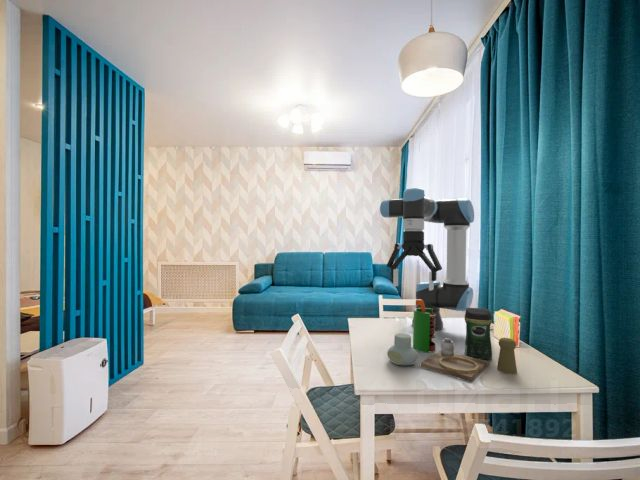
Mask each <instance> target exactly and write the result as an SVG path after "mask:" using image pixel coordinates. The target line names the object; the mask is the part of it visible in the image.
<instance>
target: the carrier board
mask: <svg viewBox="0 0 640 480" xmlns="http://www.w3.org/2000/svg"><path fill="white" fill-rule="evenodd" d="M440 342H441V343H440V350H438V351H437V352H436V353H433V354H432V355H430V356H429V357H427V358H426V359H424V360H422V361H421V362H420V368H423V369H426V370H429V371H430V370H431V371H433V372H437V373H439V374H440V373H441V374H443V375H447V376H451V377H454V378H457V379H461V380H463V381H467V382H470V383H472V382H474V380H475V379H476V378H477V377H478V376H479V375H480V374H481V373H482V372H483V371H484V370H485V369H486V368H487V367H488V366H489V360H488V361H487V360H485V359H476V358H472V357H468V356H466V355H464V354H460V353H455V352H454V350H455V348H454V347H455V346H454V345H455V344H454V343H455V342H454V341H453V340H452V339H451V338H448V337H444V339H441V341H440Z"/></svg>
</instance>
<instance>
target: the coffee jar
mask: <svg viewBox="0 0 640 480" xmlns="http://www.w3.org/2000/svg"><path fill="white" fill-rule="evenodd" d="M464 312H465V314H464V317H463V318H464V322H465V325H466V326H465V341H464V354H465V355H464V356H468V357H472V358H476V359H481V360H485V361H487V360H488V361H489V360H491V359H492V358H493V348H492V340H491V339H492V338H491V325H492V322H493V317H492V312H491V310H490V309H487V308H482V307H481V308H480V307H479V308H478V307H470V308H466V311H464Z"/></svg>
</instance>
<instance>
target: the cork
mask: <svg viewBox="0 0 640 480" xmlns="http://www.w3.org/2000/svg"><path fill="white" fill-rule="evenodd" d="M498 345H499V347H500V348H499V355H498V361H497V366H496V370H497V371H499V372H501V373H504V374H508V375H516V374H517V373H518V369H517V362H516V361H517V359H516V355H515V349H516V348H517V343H516V341H515V340H514V339H512V338H509V337H501V338H500V339H499V340H498Z"/></svg>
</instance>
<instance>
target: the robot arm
mask: <svg viewBox="0 0 640 480" xmlns="http://www.w3.org/2000/svg"><path fill="white" fill-rule="evenodd" d="M472 203H473V202H471V200H470V199H469V198H452V199H448V198H447V199H438V200H435V199H433V198H431V197H427V196H426V194H425V190H424V188H419V187H413V188H410V187H409V188H406V189H405V190H404V191H403V197H402V198H395V199H386V200H385V199H383V201H381V203H380V205H379V211H380V212H379V213H380V215H381V216H382V217H383V218H388V219H389V218H397V219H398V218H402V219H403V220H402V229H403V230H404V231H402V244H401V243H400V242H399V243H395V244H394V249H393V251H392V253H391V255H390V257H389V259H388V261H387V262H386V263H387V264H386V267H387V268H390V269H391V272H390V273H391V276H390V277H391V278H393V279H392V280H393V281H392V282H393V287H394V288H395V287H399V268H398V267H399V266H400V265H401V263H402V262H403V261H404V260H405V258H406V257H412V256H414V257H419V258H420V259H421V260H422V261H423V262H424V264H425V265H426V267H428V269H429V270H430V271H429V272H428V281H421V282H418V283H417V284H416V287H415V300H416V299H421V300H423V302H424V305H425V308H430V309H433V313H434V314H435V315H436V317H433V318H435V321H434V322H435V330H434V331H441V330H443V329H444V323H443V319H442V316H441V313H440V311H441V309H443V310H451V311H456V312H466V308H471V306H472V303H473V300H474V299H473V298H474V288H473V287H470V283H469V281H468V280H467V279H466V273H467V272H466V271H467V270H466V269H467V268H466V267H467V266H466V265H467V230H468V229H469V228H470V227H471V223H473V222H474V221H475V210H474V205H473V204H472ZM425 222H427V223H432V224H433V223H434V224H443V228H445V229H446V279H445V280H443V282H442V284H441V282H440V281H439V280H438V281H437V272H439V271H441V270H442V269H443V267H442V265H441V263H440V260H439V259H438V256H437V255H436V253H435V250H434V245H433V244H432V243H428V244H425V232H424V230H425ZM401 249H402V250H403V251H402V252H401V254H400V255H399V252H400V250H401ZM425 249H426V251H427V253H428V254H429V257H430V259H431V260H432V262H431V260H430V259H429V258H428V256H427V255H426V253H425V252H424V250H425ZM398 255H399V257H398ZM415 308H421V305H416V304H415ZM413 322H414V317H413V318H412V321H411V325H412V327H413Z"/></svg>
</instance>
